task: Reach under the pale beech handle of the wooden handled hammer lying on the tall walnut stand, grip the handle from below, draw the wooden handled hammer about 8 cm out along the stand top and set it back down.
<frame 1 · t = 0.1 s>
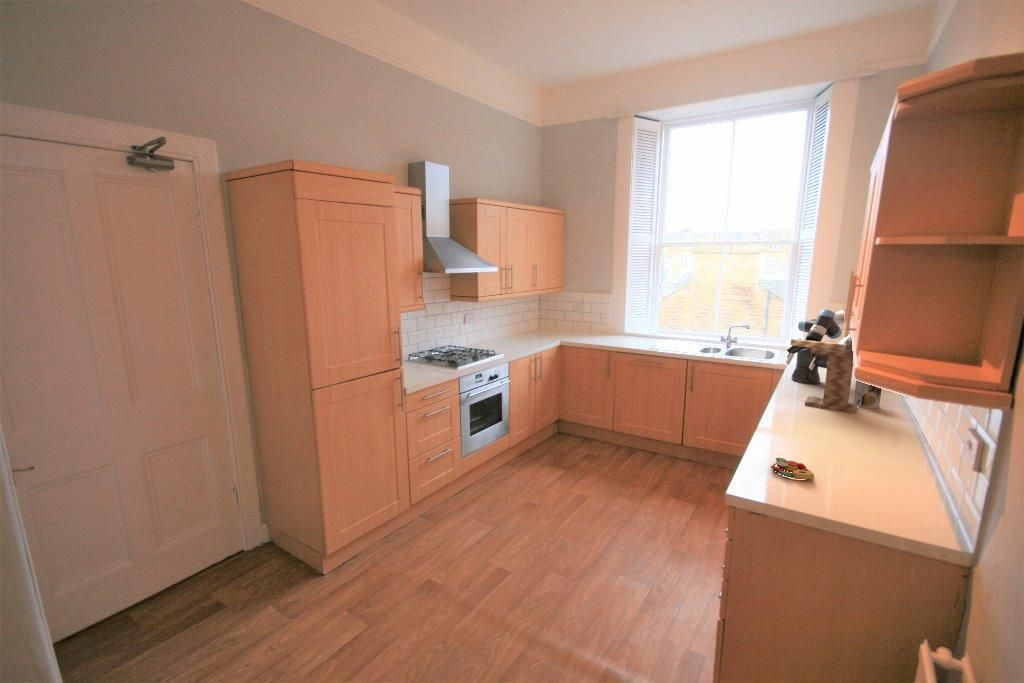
hand: (798, 366, 261), 15 cm above the countertop, tool tilted 35°, fingers open, 13 cm apart
wooden handled hammer: (822, 348, 237), point 30 cm above the countertop, touching walnut stand
coffee box: (865, 406, 239), on the countertop
toy food set: (791, 474, 166), on the countertop
walnut stand: (830, 406, 238), on the countertop
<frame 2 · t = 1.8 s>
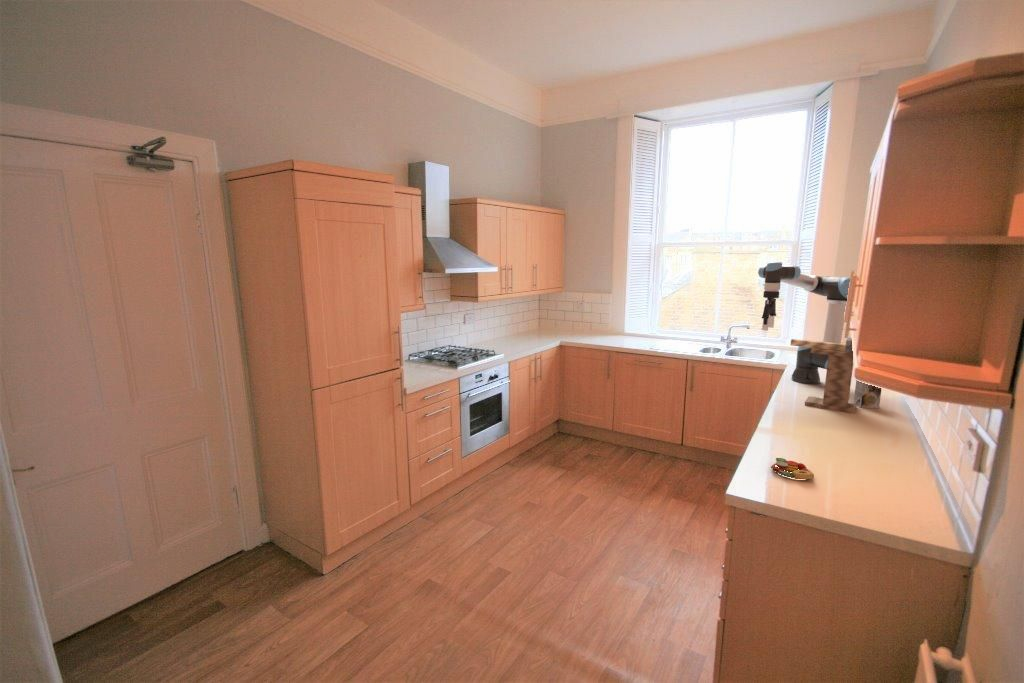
hand: (767, 329, 255), 37 cm above the countertop, tool pointing down, fingers open, 13 cm apart
nothing on the countertop moved.
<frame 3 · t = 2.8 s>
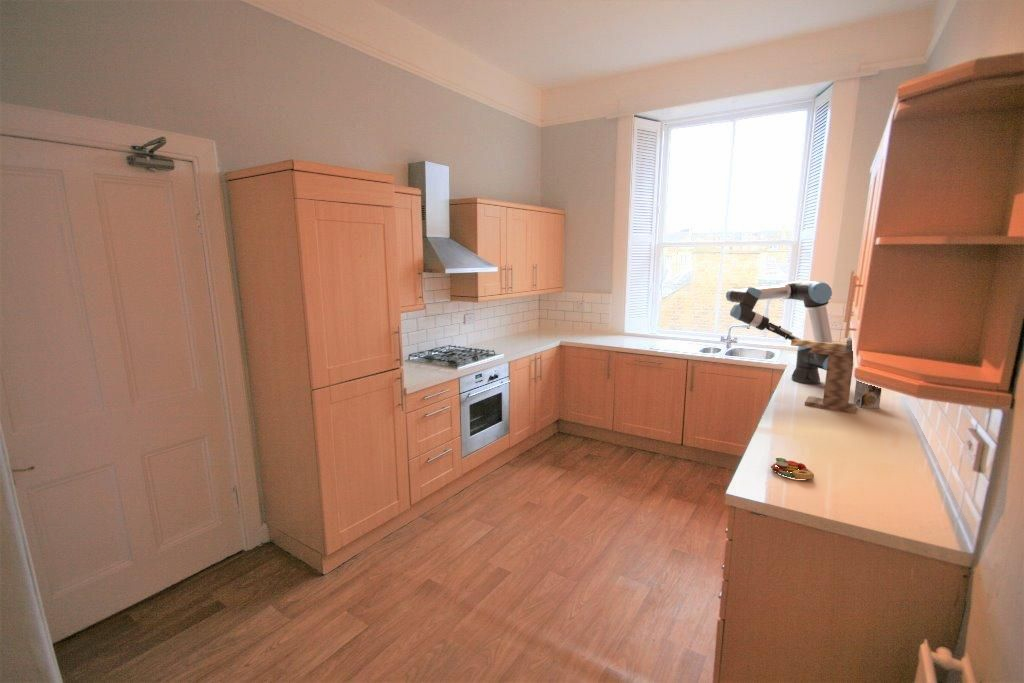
hand: (795, 338, 254), 32 cm above the countertop, tool tilted 65°, fingers open, 13 cm apart
wooden handled hammer: (822, 348, 237), point 30 cm above the countertop, touching gripper, walnut stand
everything else where it was.
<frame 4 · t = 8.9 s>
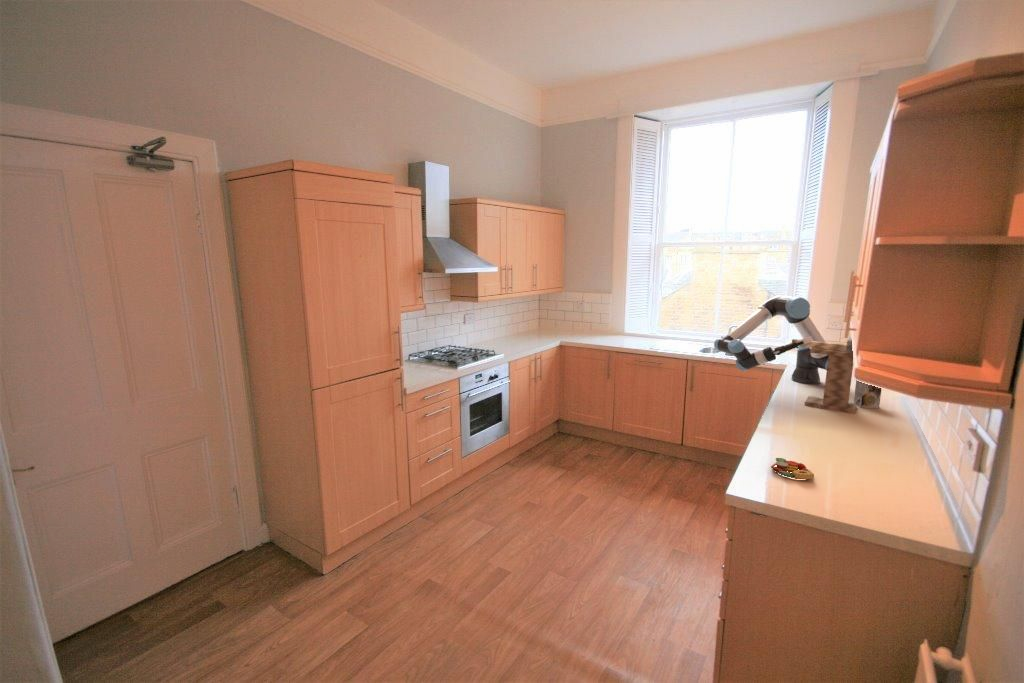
hand: (811, 338, 240), 34 cm above the countertop, tool pointing upward, fingers closed on wooden handled hammer, 3 cm apart
wooden handled hammer: (823, 348, 237), point 30 cm above the countertop, touching gripper, walnut stand
everything else where it was.
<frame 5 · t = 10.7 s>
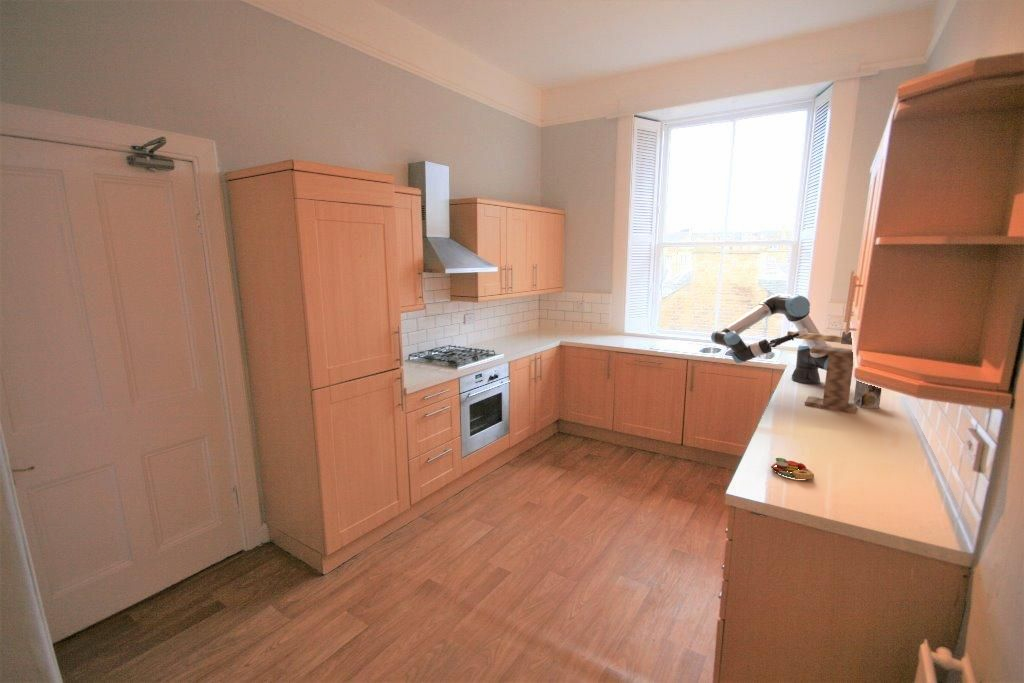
hand: (806, 330, 240), 38 cm above the countertop, tool pointing upward, fingers closed on wooden handled hammer, 3 cm apart
wooden handled hammer: (818, 340, 238), point 34 cm above the countertop, touching gripper
everything else where it was.
when the fingers open (35 cm above the countertop, at t = 12.7 s): wooden handled hammer stays where it is, resting on walnut stand.
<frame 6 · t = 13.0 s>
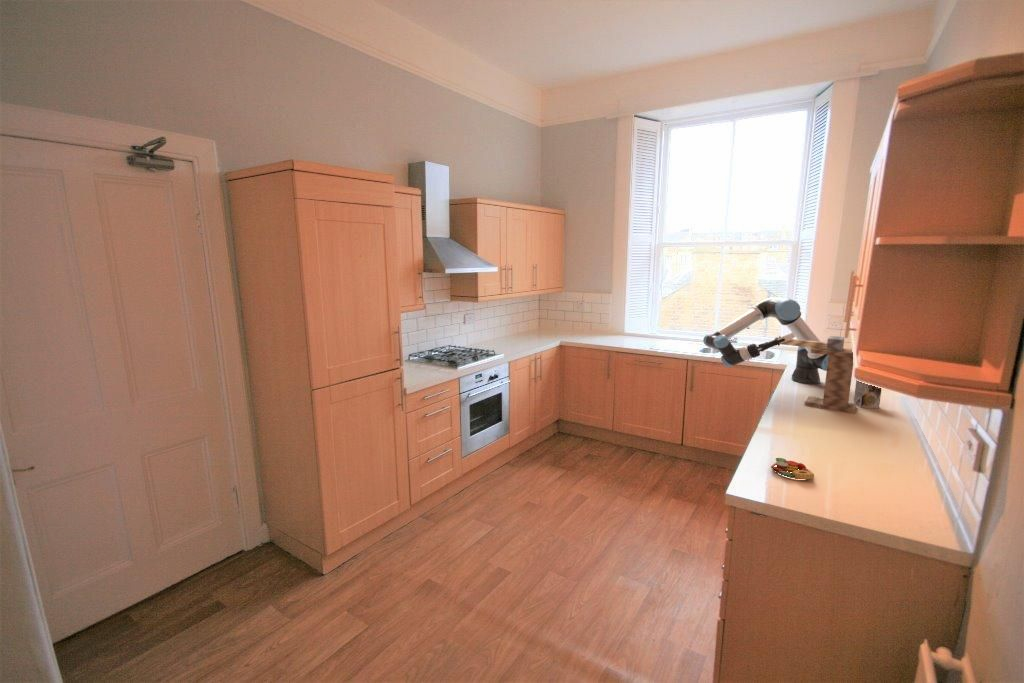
hand: (792, 335, 245), 35 cm above the countertop, tool pointing upward, fingers open, 7 cm apart
wooden handled hammer: (804, 346, 242), point 30 cm above the countertop, touching walnut stand
everything else where it was.
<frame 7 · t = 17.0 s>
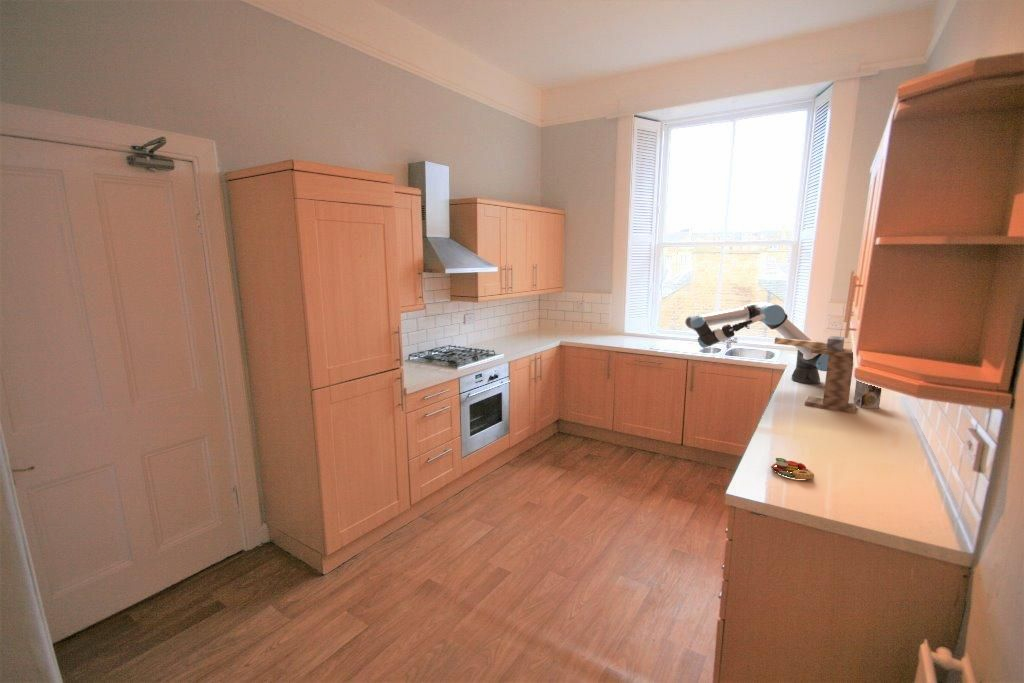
hand: (761, 316, 253), 44 cm above the countertop, tool pointing upward, fingers open, 13 cm apart
nothing on the countertop moved.
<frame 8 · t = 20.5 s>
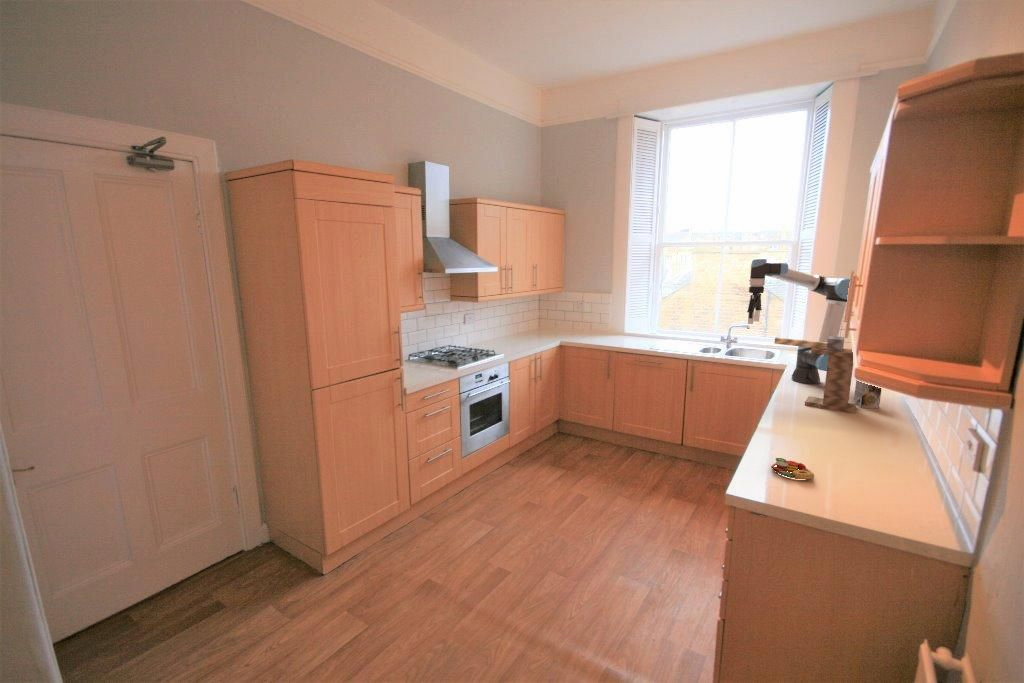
hand: (753, 322, 268), 39 cm above the countertop, tool pointing down, fingers open, 13 cm apart
nothing on the countertop moved.
at the end: wooden handled hammer moved 7.6 cm from its start; wooden handled hammer point 30.0 cm above the countertop; the gripper is holding nothing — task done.
